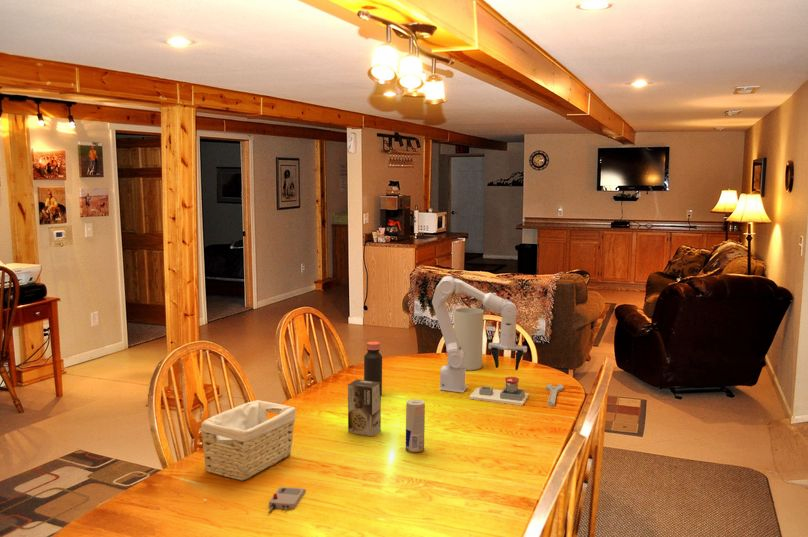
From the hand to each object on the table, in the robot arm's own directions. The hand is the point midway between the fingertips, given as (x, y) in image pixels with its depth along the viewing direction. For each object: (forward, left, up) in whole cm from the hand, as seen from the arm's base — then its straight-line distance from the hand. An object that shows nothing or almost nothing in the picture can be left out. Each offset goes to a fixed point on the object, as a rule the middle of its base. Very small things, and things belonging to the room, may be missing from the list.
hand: (506, 368), depth 264 cm
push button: (+4, -8, -8) cm, 12 cm away
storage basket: (-54, -94, -10) cm, 109 cm away
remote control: (-33, -110, -10) cm, 115 cm away
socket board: (-1, -8, -9) cm, 12 cm away
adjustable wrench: (+17, +2, -10) cm, 20 cm away
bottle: (-46, -23, -10) cm, 52 cm away
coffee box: (-34, -59, -10) cm, 69 cm away
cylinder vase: (-23, +29, -10) cm, 38 cm away
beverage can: (-14, -67, -10) cm, 69 cm away
